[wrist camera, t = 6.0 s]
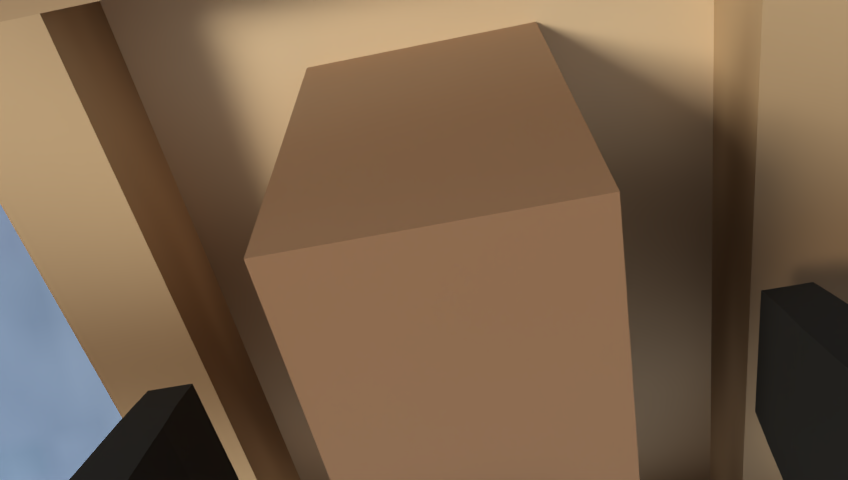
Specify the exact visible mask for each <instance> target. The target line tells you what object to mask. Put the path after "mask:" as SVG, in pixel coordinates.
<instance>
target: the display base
mask: <svg viewBox="0 0 848 480" xmlns="http://www.w3.org/2000/svg"><path fill="white" fill-rule="evenodd" d="M532 22H536V23H537V25H538V27H539V29H540V31H541V33H542V35H543V37H544V39H545V41H546V43H547V45H548V47H549V49H550V51H551V53H552V55H553V57H554V59H555V61H556V63H557V65H558V68H559V70H560V72H561V74H562V76H563V78H564V80H565V82H566V84H567V86H568V88H569V90H570V92H571V94H572V96H573V98H574V100H575V102H576V104H577V106H578V108H579V110H580V112H581V114H582V116H583V118H584V120H585V122H586V124H587V126H588V128H589V130H590V132H591V134H592V136H593V138H594V140H595V142H596V144H597V147H598V149H599V151H600V153H601V155H602V157H603V159H604V161H605V163H606V165H607V167H608V169H609V171H610V173H611V175H612V177H613V179H614V181H615V183H616V185H617V187H618V189H619V191H620V203H621V217H622V232H623V246H624V260H625V275H626V289H627V304H628V318H629V333H630V347H631V362H632V376H633V391H634V405H635V420H636V434H637V449H638V463H639V478H640V480H783V478H782V476H781V474H780V471H779V469H778V467H777V464H776V462H775V460H774V457H773V455H772V453H771V450H770V448H769V445H768V443H767V440H766V438H765V435H764V433H763V430H762V428H761V425H760V423H759V420H758V418H757V415H756V413H755V401H756V382H757V362H758V343H759V323H760V303H761V290H767V289H773V288H779V287H786V286H792V285H798V284H804V283H810V282H814V283H816V284H817V285H819V286H820V287H822V288H824V289H825V290H827V291H829V292H830V293H832V294H833V295H835V296H836V297H838V298H840V299H841V300H843V301H844V302H846V303H847V304H848V0H0V204H1V206H2V207H3V209H4V211H5V213H6V214H7V216H8V218H9V220H10V221H11V223H12V225H13V227H14V228H15V230H16V232H17V234H18V235H19V237H20V239H21V241H22V242H23V244H24V246H25V248H26V249H27V251H28V253H29V255H30V256H31V258H32V260H33V262H34V264H35V265H36V267H37V269H38V271H39V272H40V274H41V276H42V278H43V279H44V281H45V283H46V285H47V286H48V288H49V290H50V292H51V293H52V295H53V297H54V299H55V300H56V302H57V304H58V306H59V307H60V309H61V311H62V313H63V314H64V316H65V318H66V320H67V322H68V323H69V325H70V327H71V329H72V330H73V332H74V334H75V336H76V337H77V339H78V341H79V343H80V344H81V346H82V348H83V350H84V351H85V353H86V355H87V357H88V358H89V360H90V362H91V364H92V365H93V367H94V369H95V371H96V372H97V374H98V376H99V378H100V379H101V381H102V383H103V385H104V387H105V388H106V390H107V392H108V394H109V395H110V397H111V399H112V401H113V402H114V404H115V406H116V408H117V409H118V411H119V413H120V415H121V416H122V418H123V417H124V416H125V415H126V414H127V413H128V412H129V411H130V409H131V408H132V407H133V406H134V405H135V404H136V403H137V402H138V401H139V400H140V399H141V398H142V397H143V395H144V394H145V393H146V392H147V391H150V390H156V389H162V388H168V387H174V386H180V385H186V384H193V386H194V388H195V390H196V392H197V394H198V396H199V398H200V400H201V402H202V404H203V406H204V408H205V410H206V412H207V415H208V417H209V419H210V421H211V423H212V425H213V427H214V429H215V431H216V433H217V435H218V437H219V439H220V441H221V443H222V446H223V448H224V450H225V452H226V454H227V456H228V458H229V460H230V462H231V464H232V466H233V468H234V470H235V472H236V474H237V476H238V479H239V480H330V478H329V475H328V473H327V470H326V468H325V465H324V463H323V460H322V458H321V455H320V452H319V450H318V447H317V445H316V442H315V440H314V437H313V435H312V432H311V430H310V427H309V424H308V422H307V419H306V417H305V414H304V412H303V409H302V407H301V404H300V401H299V399H298V396H297V394H296V391H295V389H294V386H293V384H292V381H291V379H290V376H289V373H288V371H287V368H286V366H285V363H284V361H283V358H282V356H281V353H280V350H279V348H278V345H277V343H276V340H275V338H274V335H273V333H272V330H271V328H270V325H269V322H268V320H267V317H266V315H265V312H264V310H263V307H262V305H261V302H260V300H259V297H258V294H257V292H256V289H255V287H254V284H253V282H252V279H251V277H250V274H249V271H248V269H247V266H246V264H245V261H244V256H245V253H246V250H247V247H248V244H249V241H250V238H251V235H252V232H253V229H254V226H255V223H256V220H257V217H258V214H259V211H260V208H261V205H262V202H263V199H264V196H265V193H266V190H267V187H268V184H269V181H270V178H271V175H272V172H273V169H274V166H275V163H276V160H277V157H278V154H279V151H280V148H281V145H282V142H283V139H284V136H285V132H286V129H287V126H288V123H289V120H290V117H291V114H292V111H293V108H294V105H295V102H296V99H297V96H298V93H299V90H300V87H301V84H302V81H303V78H304V75H305V72H306V69H307V68H308V67H313V66H318V65H323V64H328V63H333V62H338V61H343V60H348V59H353V58H358V57H363V56H368V55H373V54H378V53H383V52H388V51H393V50H398V49H403V48H408V47H412V46H417V45H422V44H427V43H432V42H437V41H442V40H447V39H452V38H457V37H462V36H467V35H472V34H477V33H482V32H487V31H492V30H497V29H502V28H507V27H512V26H517V25H522V24H527V23H532Z"/></svg>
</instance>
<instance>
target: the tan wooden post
mask: <svg viewBox="0 0 848 480" xmlns="http://www.w3.org/2000/svg"><path fill="white" fill-rule="evenodd" d="M244 261H245V264H246V266H247V269H248V271H249V274H250V277H251V279H252V282H253V284H254V287H255V289H256V292H257V294H258V297H259V300H260V302H261V305H262V307H263V310H264V312H265V315H266V317H267V320H268V322H269V325H270V328H271V330H272V333H273V335H274V338H275V340H276V343H277V345H278V348H279V350H280V353H281V356H282V358H283V361H284V363H285V366H286V368H287V371H288V373H289V376H290V379H291V381H292V384H293V386H294V389H295V391H296V394H297V396H298V399H299V401H300V404H301V407H302V409H303V412H304V414H305V417H306V419H307V422H308V424H309V427H310V430H311V432H312V435H313V437H314V440H315V442H316V445H317V447H318V450H319V452H320V455H321V458H322V460H323V463H324V465H325V468H326V470H327V473H328V475H329V478H330V480H640V478H639V463H638V449H637V434H636V420H635V405H634V391H633V376H632V362H631V347H630V333H629V318H628V304H627V289H626V275H625V260H624V246H623V232H622V217H621V203H620V191H619V189H618V187H617V185H616V183H615V181H614V179H613V177H612V175H611V173H610V171H609V169H608V167H607V165H606V163H605V161H604V159H603V157H602V155H601V153H600V151H599V149H598V147H597V144H596V142H595V140H594V138H593V136H592V134H591V132H590V130H589V128H588V126H587V124H586V122H585V120H584V118H583V116H582V114H581V112H580V110H579V108H578V106H577V104H576V102H575V100H574V98H573V96H572V94H571V92H570V90H569V88H568V86H567V84H566V82H565V80H564V78H563V76H562V74H561V72H560V70H559V68H558V65H557V63H556V61H555V59H554V57H553V55H552V53H551V51H550V49H549V47H548V45H547V43H546V41H545V39H544V37H543V35H542V33H541V31H540V29H539V27H538V25H537V23H536V22H532V23H527V24H522V25H517V26H512V27H507V28H502V29H497V30H492V31H487V32H482V33H477V34H472V35H467V36H462V37H457V38H452V39H447V40H442V41H437V42H432V43H427V44H422V45H417V46H412V47H408V48H403V49H398V50H393V51H388V52H383V53H378V54H373V55H368V56H363V57H358V58H353V59H348V60H343V61H338V62H333V63H328V64H323V65H318V66H313V67H308V68H307V69H306V72H305V75H304V78H303V81H302V84H301V87H300V90H299V93H298V96H297V99H296V102H295V105H294V108H293V111H292V114H291V117H290V120H289V123H288V126H287V129H286V132H285V136H284V139H283V142H282V145H281V148H280V151H279V154H278V157H277V160H276V163H275V166H274V169H273V172H272V175H271V178H270V181H269V184H268V187H267V190H266V193H265V196H264V199H263V202H262V205H261V208H260V211H259V214H258V217H257V220H256V223H255V226H254V229H253V232H252V235H251V238H250V241H249V244H248V247H247V250H246V253H245V256H244Z"/></svg>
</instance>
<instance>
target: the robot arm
mask: <svg viewBox="0 0 848 480" xmlns="http://www.w3.org/2000/svg"><path fill="white" fill-rule="evenodd" d="M755 413H756V415H757V418H758V420H759V423H760V425H761V428H762V430H763V433H764V435H765V438H766V440H767V443H768V445H769V448H770V450H771V453H772V455H773V457H774V460H775V462H776V464H777V467H778V469H779V471H780V474H781V476H782V478H783V480H848V304H847V303H846V302H844V301H843V300H841V299H840V298H838V297H836V296H835V295H833V294H832V293H830V292H829V291H827V290H825V289H824V288H822V287H820V286H819V285H817V284H816V283H814V282H810V283H804V284H798V285H792V286H786V287H779V288H773V289H767V290H761V303H760V323H759V343H758V362H757V382H756V401H755ZM70 480H239V479H238V476H237V474H236V472H235V470H234V468H233V466H232V464H231V462H230V460H229V458H228V456H227V454H226V452H225V450H224V448H223V446H222V443H221V441H220V439H219V437H218V435H217V433H216V431H215V429H214V427H213V425H212V423H211V421H210V419H209V417H208V415H207V412H206V410H205V408H204V406H203V404H202V402H201V400H200V398H199V396H198V394H197V392H196V390H195V388H194V386H193V384H186V385H180V386H174V387H168V388H162V389H156V390H150V391H147V392H146V393H145V394H144V395H143V397H142V398H141V399H140V400H139V401H138V402H137V403H136V404H135V405H134V406H133V407H132V408H131V409H130V411H129V412H128V413H127V414H126V415H125V416H124V417H123V418H122V420H121V421H120V422H119V423H118V424H117V425H116V426H115V428H114V429H113V430H112V431H111V432H110V433H109V434H108V436H107V437H106V438H105V439H104V440H103V441H102V443H101V444H100V445H99V446H98V447H97V448H96V450H95V451H94V452H93V453H92V454H91V455H90V457H89V458H88V459H87V460H86V461H85V462H84V463H83V465H82V466H81V467H80V468H79V469H78V470H77V472H76V473H75V474H74V475H73V476H72V477H71V478H70Z"/></svg>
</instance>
